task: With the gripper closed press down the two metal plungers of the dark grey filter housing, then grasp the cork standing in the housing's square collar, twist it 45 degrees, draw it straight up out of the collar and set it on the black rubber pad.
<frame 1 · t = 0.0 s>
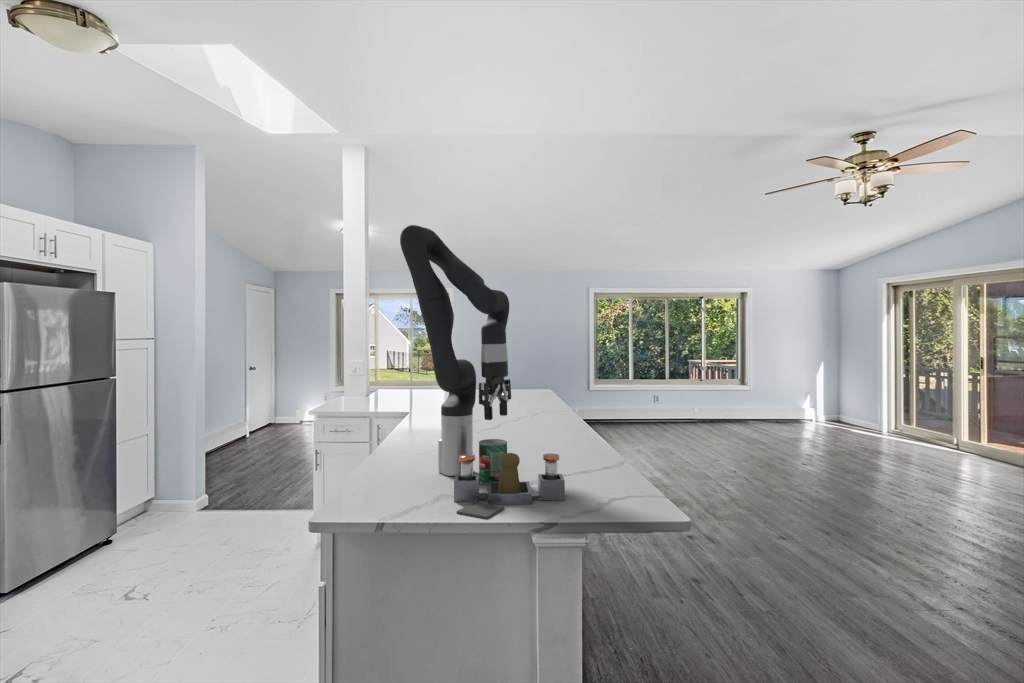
hand: (496, 417, 151), 17 cm above the table, tool pointing down, fingers open, 8 cm apart
cork: (509, 498, 134), resting in housing
plunger A: (466, 470, 133), point 7 cm above the table, slide at 0.0 cm
plunger B: (551, 469, 134), point 7 cm above the table, slide at 0.0 cm
canned tomato: (493, 482, 149), on the table
pad: (480, 510, 124), on the table
housing: (509, 497, 134), on the table
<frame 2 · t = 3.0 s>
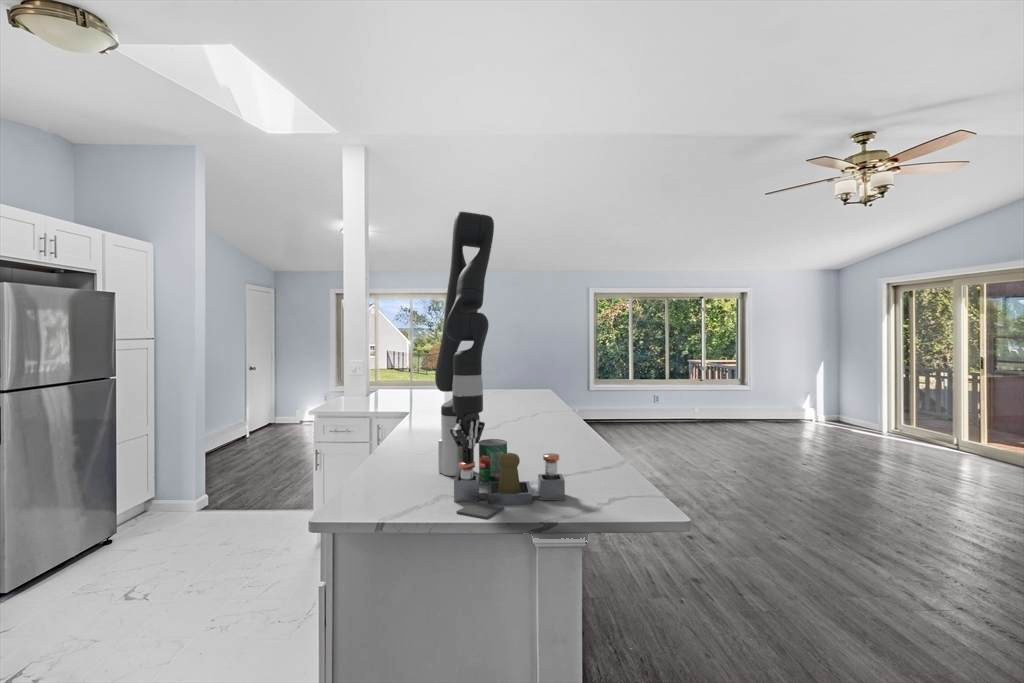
hand: (468, 462, 133), 9 cm above the table, tool pointing down, fingers closed
plunger A: (466, 476, 133), point 5 cm above the table, slide at 1.7 cm, touching gripper
everything else where it was.
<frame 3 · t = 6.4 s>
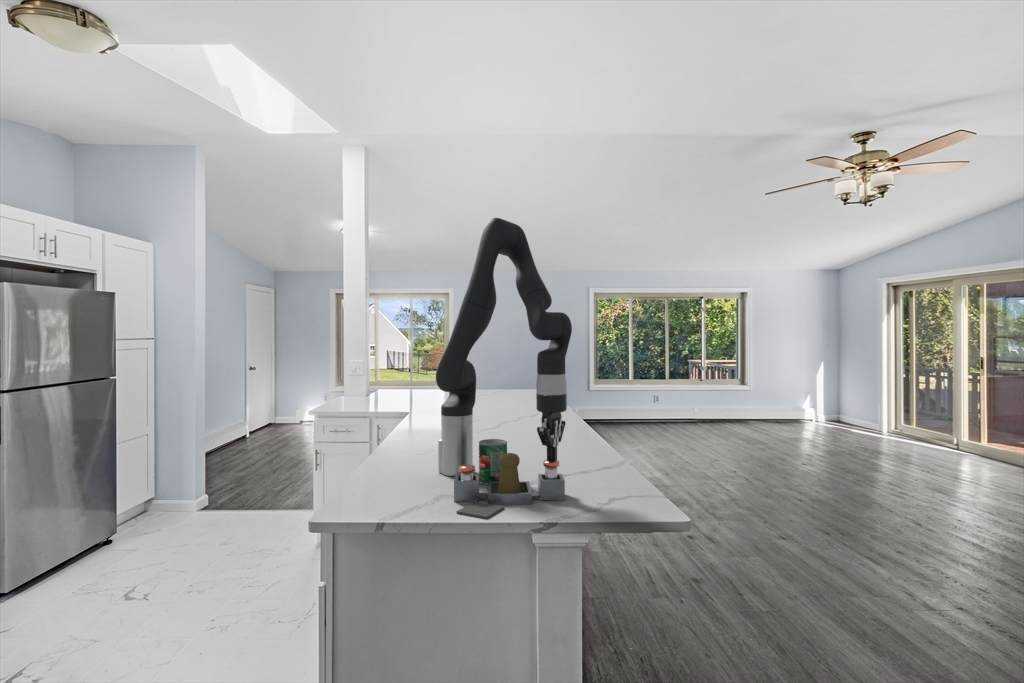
hand: (551, 461, 134), 9 cm above the table, tool pointing down, fingers closed
plunger A: (467, 480, 133), point 4 cm above the table, slide at 2.6 cm
plunger B: (551, 475, 134), point 5 cm above the table, slide at 1.5 cm, touching gripper
everything else where it was.
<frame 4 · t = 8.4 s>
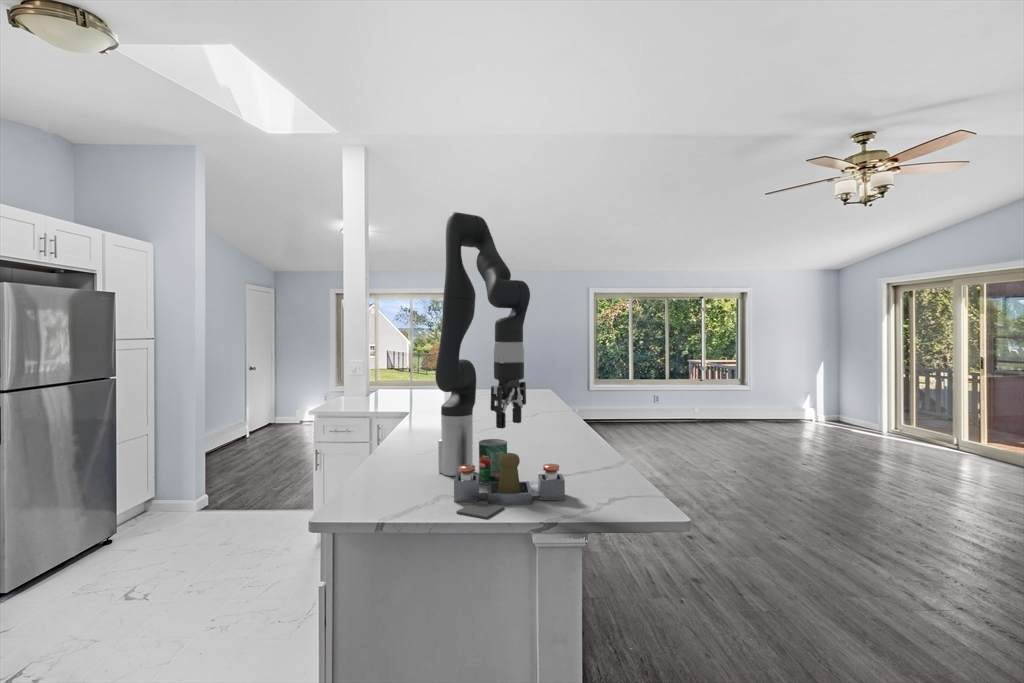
hand: (509, 425, 133), 18 cm above the table, tool pointing down, fingers open, 8 cm apart
plunger B: (551, 479, 134), point 4 cm above the table, slide at 2.6 cm
everything else where it was.
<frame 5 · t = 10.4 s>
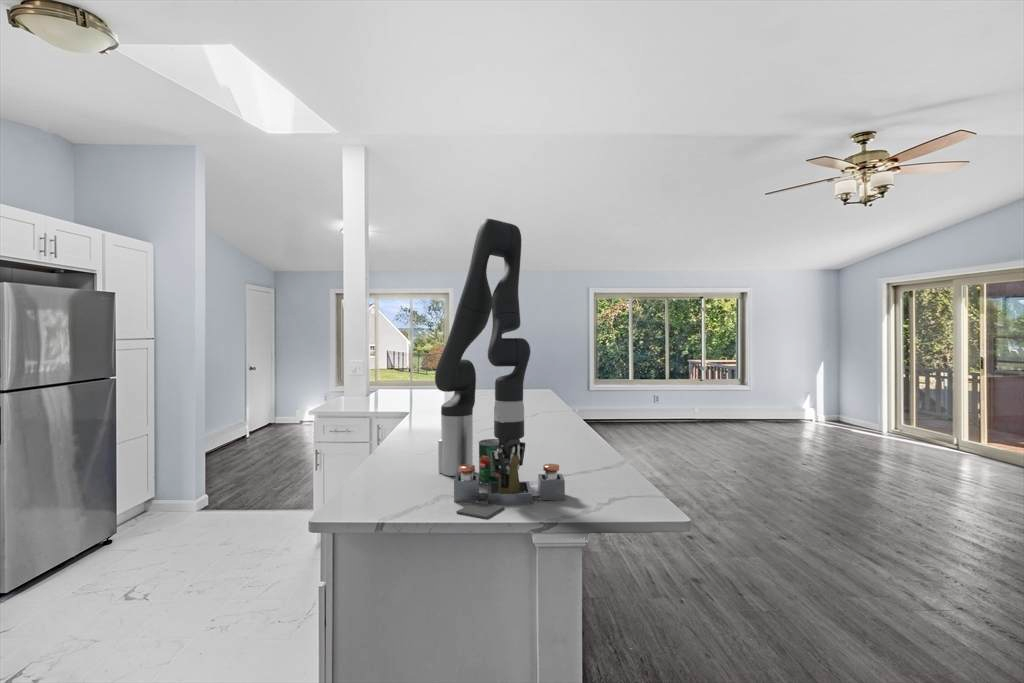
hand: (509, 486, 134), 3 cm above the table, tool pointing down, fingers closed on cork, 3 cm apart
cork: (509, 498, 134), resting in housing, touching gripper
everything else where it was.
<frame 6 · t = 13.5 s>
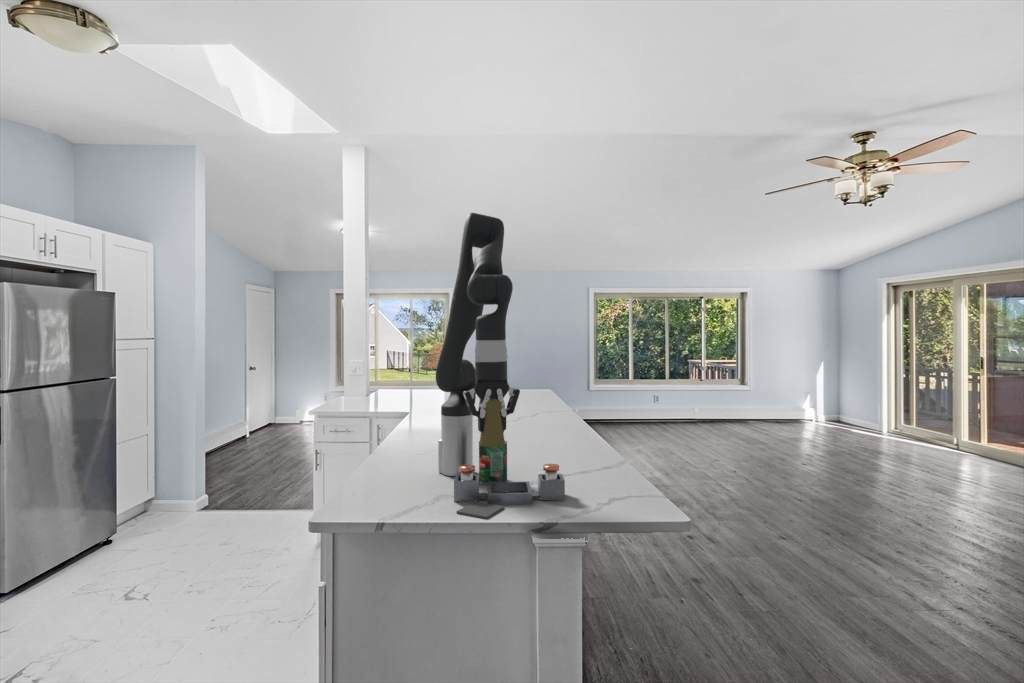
hand: (492, 432, 126), 18 cm above the table, tool pointing down, fingers closed on cork, 3 cm apart
cork: (492, 445, 126), point 15 cm above the table, touching gripper
everything else where it was.
when the fingers open (5 cm above the table, at t = 16.6 s): cork stays where it is, resting on pad.
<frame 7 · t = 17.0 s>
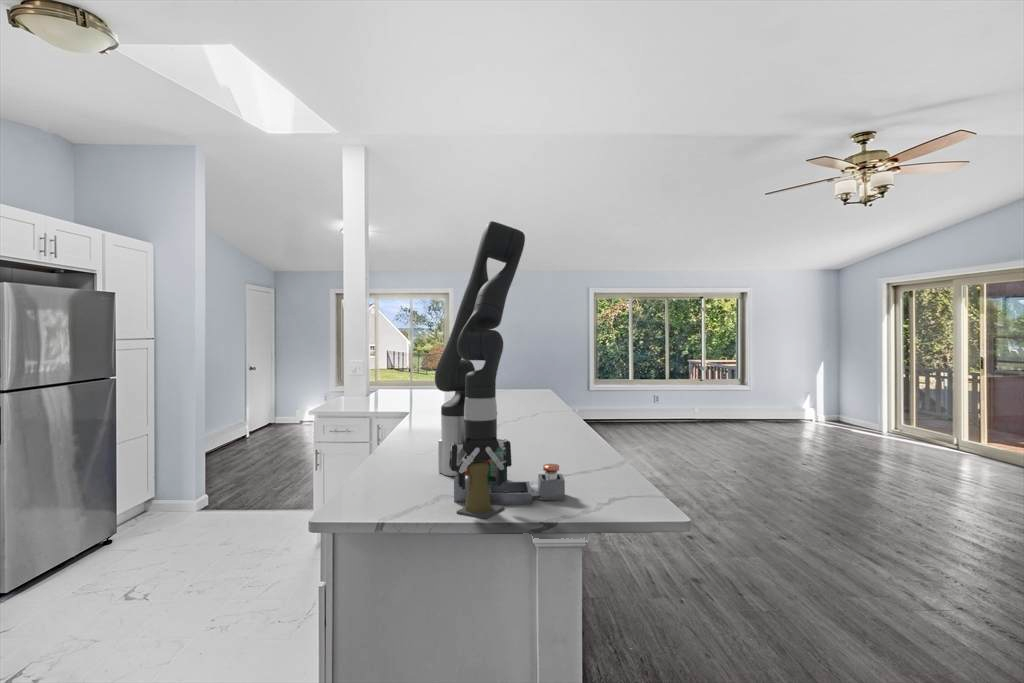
hand: (480, 486, 124), 6 cm above the table, tool pointing down, fingers open, 8 cm apart
cork: (478, 509, 124), resting on pad
everything else where it was.
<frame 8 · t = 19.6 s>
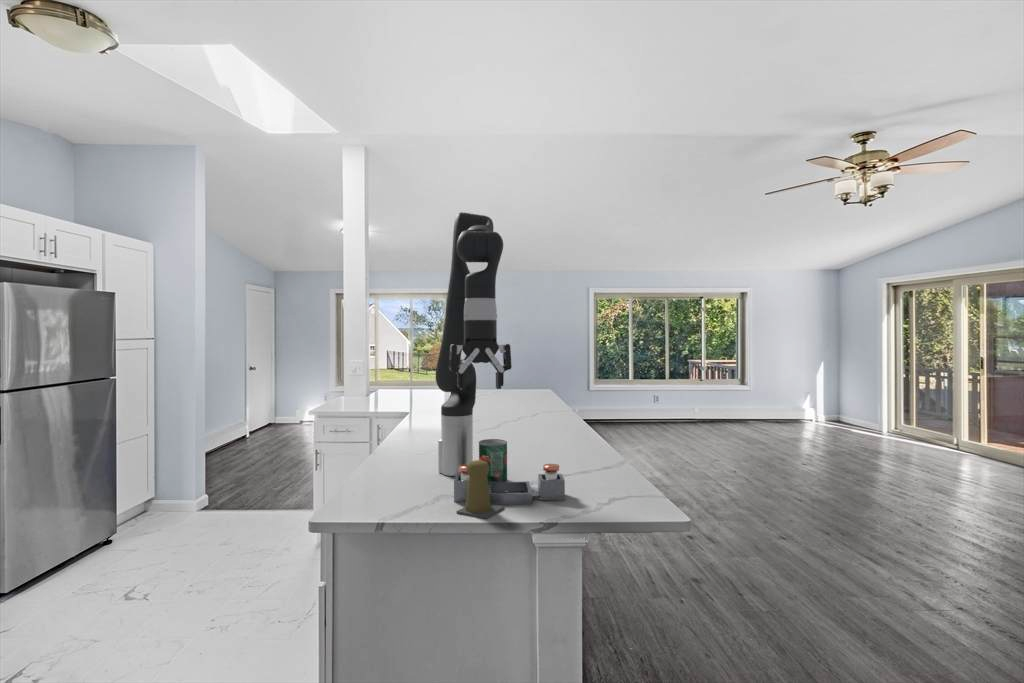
hand: (480, 389, 123), 28 cm above the table, tool pointing down, fingers open, 8 cm apart
nothing on the table moved.
at the end: plunger A slide at 2.6 cm; plunger B slide at 2.6 cm; cork inside the target area on the pad (0.6 cm from its centre), point 0.3 cm above the pad's base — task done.
